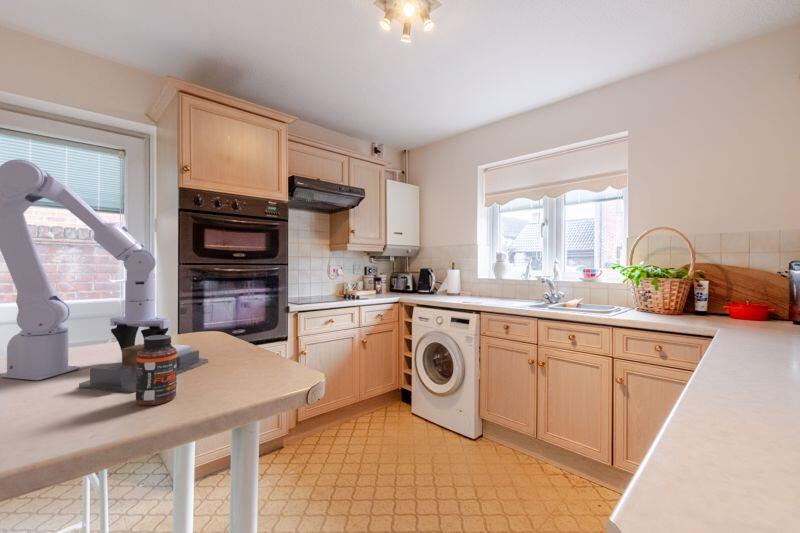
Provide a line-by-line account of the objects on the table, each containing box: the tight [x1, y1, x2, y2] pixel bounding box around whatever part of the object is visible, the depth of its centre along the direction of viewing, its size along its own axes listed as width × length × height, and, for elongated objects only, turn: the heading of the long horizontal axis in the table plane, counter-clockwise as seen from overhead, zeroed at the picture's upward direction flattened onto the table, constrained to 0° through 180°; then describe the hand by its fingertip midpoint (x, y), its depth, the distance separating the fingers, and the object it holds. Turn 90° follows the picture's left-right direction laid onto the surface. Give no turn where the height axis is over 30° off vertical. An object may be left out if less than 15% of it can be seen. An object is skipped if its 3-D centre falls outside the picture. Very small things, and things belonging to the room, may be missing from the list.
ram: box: [171, 344, 193, 357], centre depth 82 cm, size 5×5×3 cm
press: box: [78, 350, 209, 393], centre depth 76 cm, size 12×20×4 cm, turn 171°
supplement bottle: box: [135, 334, 178, 406], centre depth 62 cm, size 6×6×11 cm
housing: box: [121, 343, 144, 367], centre depth 84 cm, size 4×6×4 cm
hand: (140, 356), depth 83 cm, fingers open, 6 cm apart
